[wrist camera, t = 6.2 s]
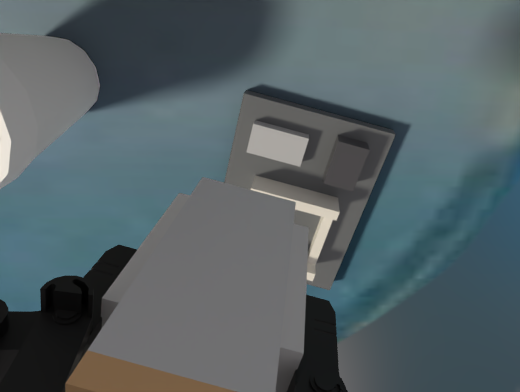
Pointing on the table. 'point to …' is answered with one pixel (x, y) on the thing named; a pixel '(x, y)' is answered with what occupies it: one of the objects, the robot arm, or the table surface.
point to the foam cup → (39, 96)
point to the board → (310, 170)
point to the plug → (201, 302)
